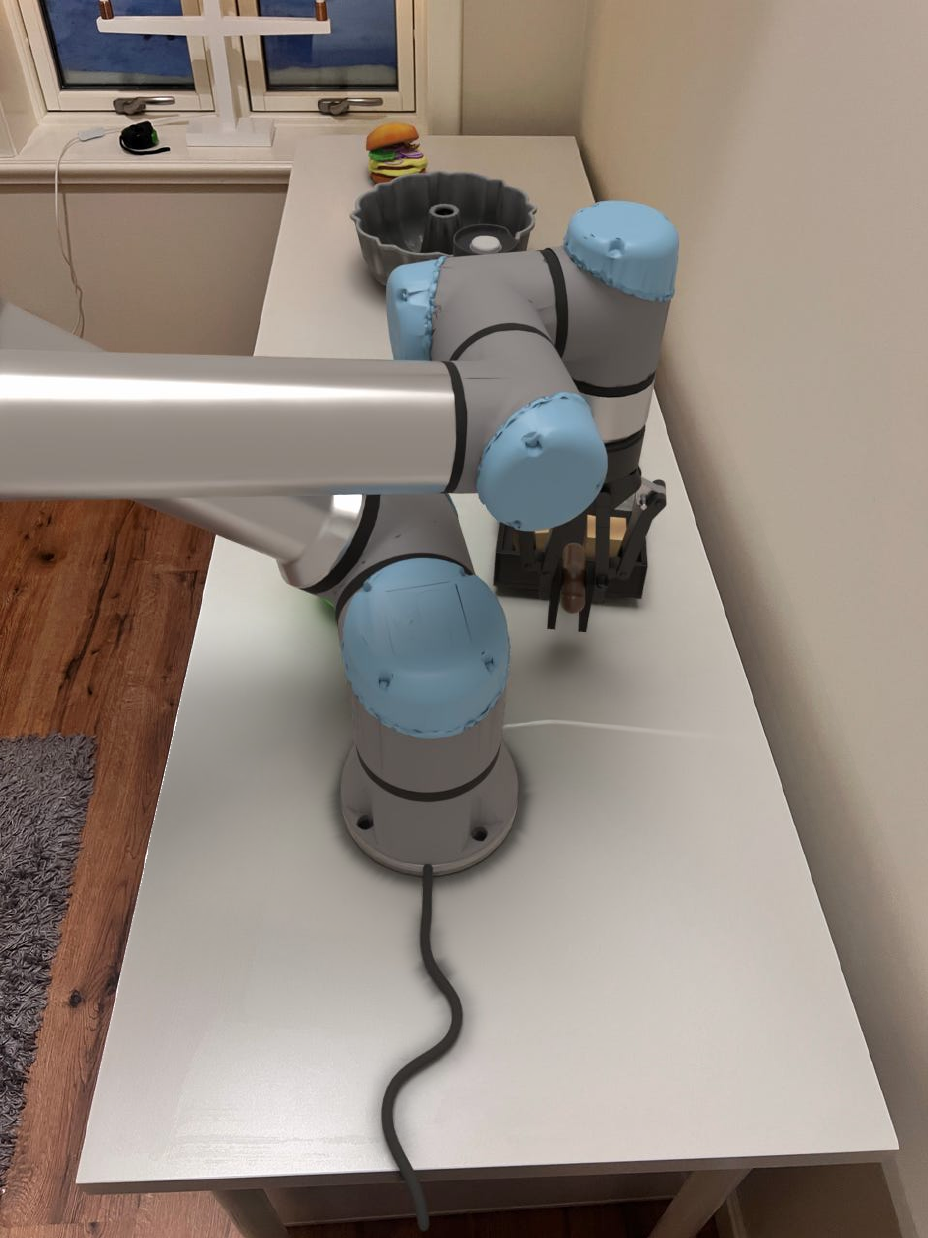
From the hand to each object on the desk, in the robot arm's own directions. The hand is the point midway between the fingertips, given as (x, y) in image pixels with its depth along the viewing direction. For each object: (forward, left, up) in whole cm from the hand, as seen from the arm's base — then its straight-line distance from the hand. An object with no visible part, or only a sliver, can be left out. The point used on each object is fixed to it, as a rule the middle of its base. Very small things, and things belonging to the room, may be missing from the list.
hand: (567, 619), depth 90 cm
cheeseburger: (+103, +32, -5) cm, 108 cm away
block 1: (+12, +3, -3) cm, 12 cm away
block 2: (+12, -4, -3) cm, 12 cm away
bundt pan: (+71, +20, -5) cm, 74 cm away
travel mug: (+43, +12, -5) cm, 45 cm away
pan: (+8, 0, -3) cm, 8 cm away
